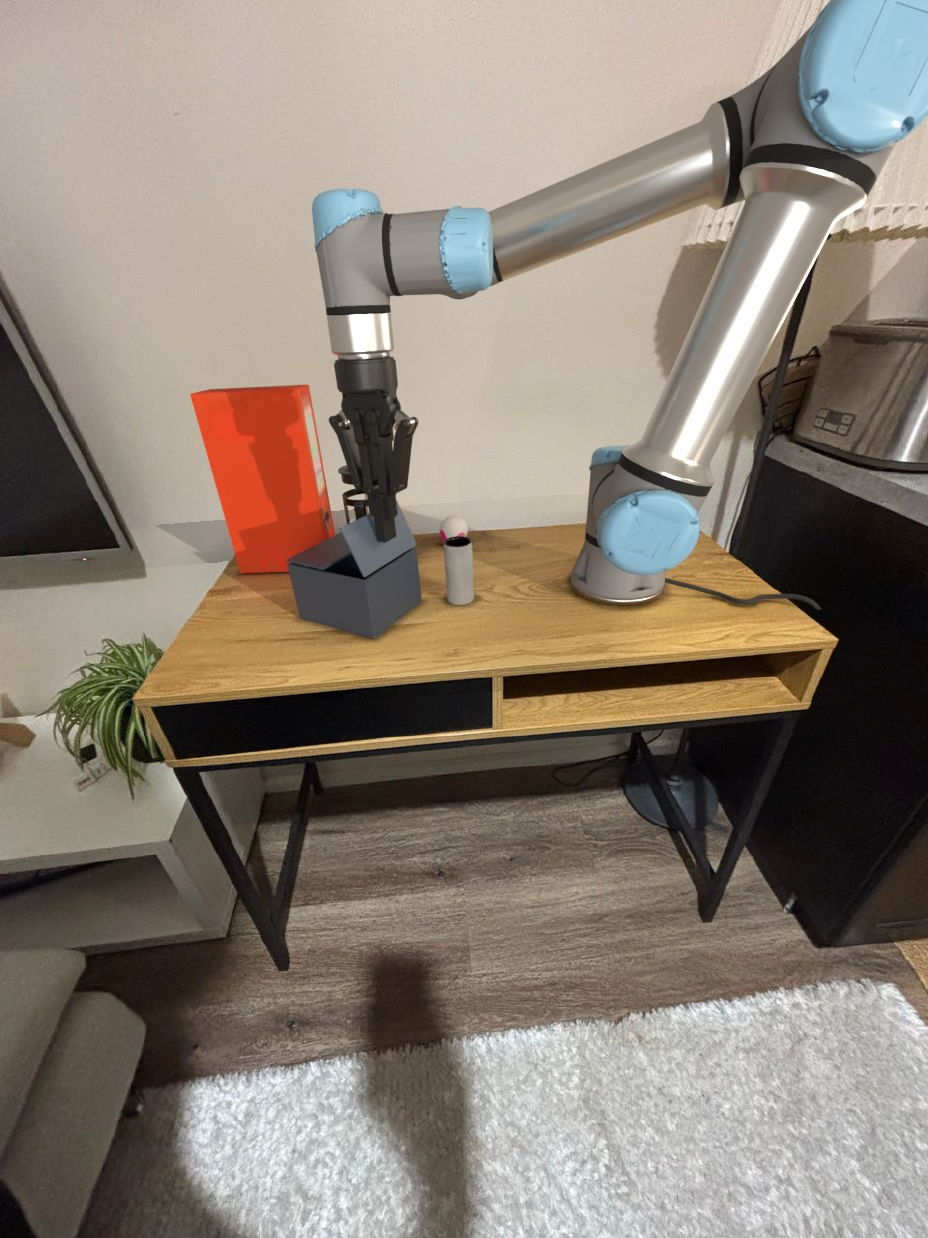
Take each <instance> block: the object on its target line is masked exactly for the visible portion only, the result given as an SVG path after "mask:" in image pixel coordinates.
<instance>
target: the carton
mask: <svg viewBox="0 0 928 1238" xmlns="http://www.w3.org/2000/svg"><path fill="white" fill-rule="evenodd" d="M287 562H291V563H289V564H287V566H288V570H289V571H288V573H289V574H288V575H289V577H290V583H291V586H292V587H291V588H292V590H293V595H294V599H295V603H296V607H297V612H298V616H299V619H301V620H304V621H308V622H311V623H314V624H318V625H322V626H326V627H329V628H332V629H336V630H339V631H343V632H347V633H350V634H354V635H357V636H360V637H364V638H368V639H371V640H375V639H377V638H378V637H380V636H381V635H382V634H383V633H384V632H385V631H387V630H388V629H390V627H392V626H393V625H394V624H396V623H397V622H398V621H399V620H401V619H402V618H403V617H405V615H407V614H408V613H409V612H411V611H412V610H413V609H414V608H416V607H417V606H419V604H421V603H422V602H423V600H422V591H421V590H422V589H421V581H420V580H421V579H420V569H419V560H418V548H415V547H412V548H411V549H409V550H407V551H406V552H404V553H403V554H401V555H399V556H398V557H396V558H395V559H393V560H392V561H390V562H388V563H387V564H385V565H384V566H382V567H380V568H379V569H377V570H376V571H374V572H373V573H371V574H369V575H368V576H366V577H363V575H362V573H361V571H360V569H359V567H358V565H357V563H356V561H355V559H354V557H353V555H352V553H351V551H350V549H349V547H348V545H347V543H346V541H345V539H344V537H343V535H342V533H341V532H339V533H336V534H335V536H333V537H331V538H329V539H327V540H325V541H323V542H321V543H319V544H317V545H315V546H313V547H311V548H309V549H307V550H305V551H303V552H301V553H299V554H297V555H295V556H293V557H291V558H289V559H287Z"/></svg>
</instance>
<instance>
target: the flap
mask: <svg viewBox="0 0 928 1238" xmlns="http://www.w3.org/2000/svg"><path fill="white" fill-rule="evenodd" d="M396 503H397V512H398V513H397V516H396V517H394V519H395V528H396V537H394V538H393V539H391V540H389V541H388V542H386V543H384V542H379V541H377V536H376V529H375V521H374V517H372V516H371V514H368V515H366V516H364V517H362V518H360V519H358V520H356V521H354V522H352V523H350V524H347V523H346V524H345V525H343V526H342V527H339V531H340V533H342V535H343V537H344V539H345V541H346V543H347V545H348V547H349V549H350V551H351V553H352V555H353V557H354V559H355V561H356V563H357V565H358V567H359V569H360V571H361V573H362V575H363V577H366V576H368V575H369V574H371V573H373V572H374V571H376V570H377V569H379V568H380V567H382V566H384V565H385V564H387V563H388V562H390V561H392V560H393V559H395V558H396V557H398V556H399V555H401V554H403V553H404V552H406V551H407V550H409V549H411V548H415V547H416V546H417V545H418V544H417V541H416V540H415V537H414V535H413V533H412V530H411V528H410V526H409V524H408V522H407V520H406V518H405V515H404V513H403V511H402V509H401V506H400V504H399V502H398V500H396Z"/></svg>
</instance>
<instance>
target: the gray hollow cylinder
mask: <svg viewBox="0 0 928 1238" xmlns="http://www.w3.org/2000/svg"><path fill="white" fill-rule="evenodd" d="M473 553H474V550H473V540H472V538H469V537H468V536H466V537H463V536H455V537H450V538H447V539H446V540H445V541H443V556H444V570H445V571H444V572H445V585H446V586H445V587H446V598H447V601H448V603H450V604H451V605H455V606H464V605H468V604H471V603H472V602H473V601H474V600H475V585H474V584H475V579H474V577H475V575H474V554H473Z"/></svg>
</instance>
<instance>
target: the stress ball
mask: <svg viewBox="0 0 928 1238" xmlns="http://www.w3.org/2000/svg"><path fill="white" fill-rule="evenodd" d="M438 531H439V536H440V538H441V540H442V541H443V542H444V541H445V540H446V539H447V538H450V537H455V536H463V537H468V534H469V525H468V523H467V521H466V519H464V518H463V516H461V515H455V514H454V515H449V516H447V517H446V518H444V519H443V520H442V521H441V522H440V525H439V530H438ZM443 542H439V543H437V545H440V544H443Z"/></svg>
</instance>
